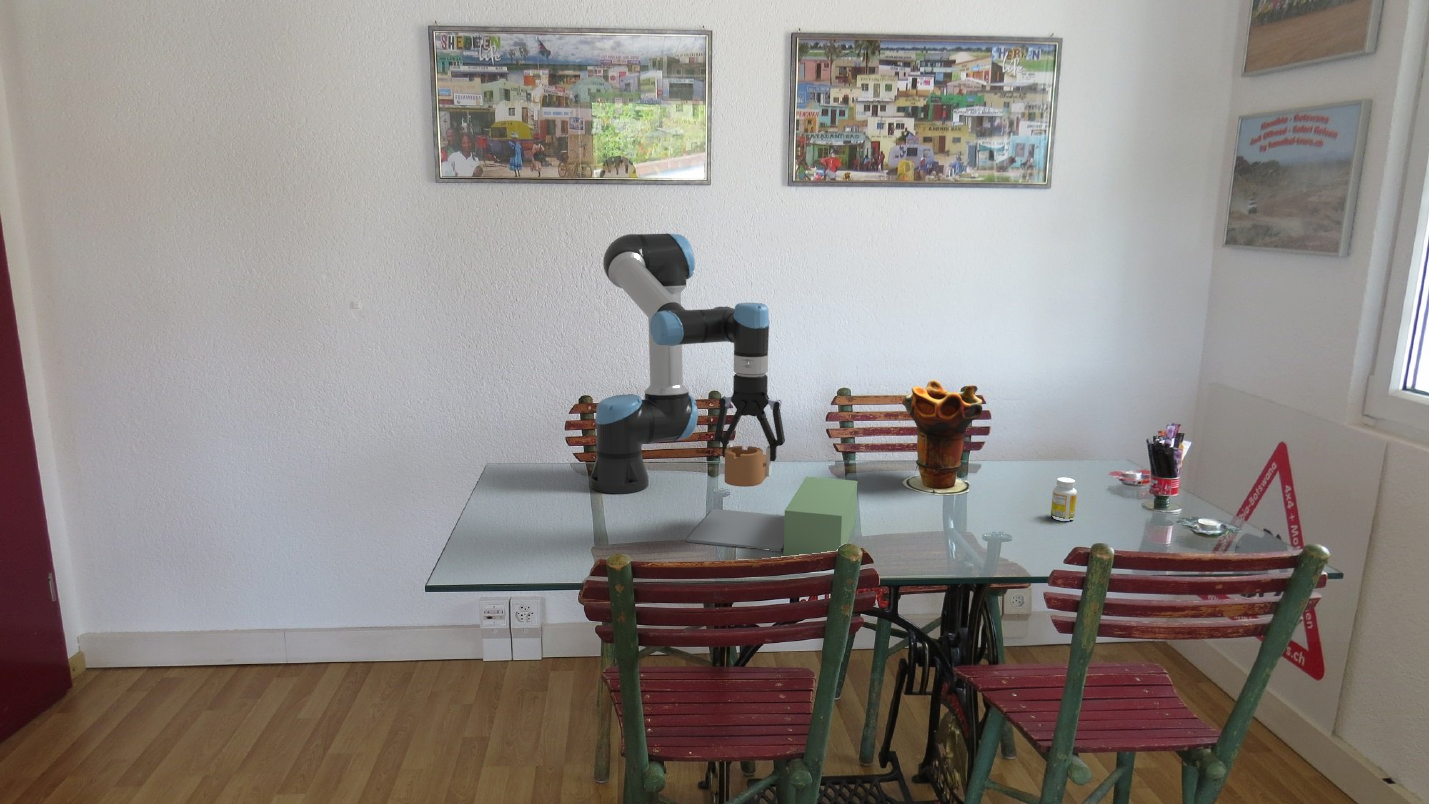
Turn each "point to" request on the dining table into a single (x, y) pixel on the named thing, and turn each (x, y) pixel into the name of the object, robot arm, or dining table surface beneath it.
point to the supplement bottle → (1064, 499)
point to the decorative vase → (940, 436)
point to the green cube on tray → (789, 521)
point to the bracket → (744, 466)
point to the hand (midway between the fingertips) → (748, 473)
